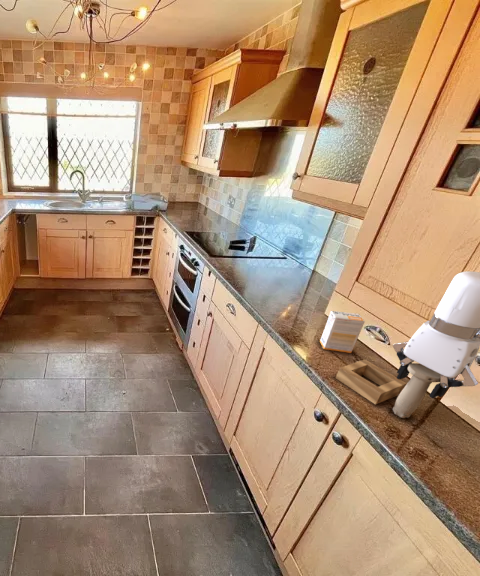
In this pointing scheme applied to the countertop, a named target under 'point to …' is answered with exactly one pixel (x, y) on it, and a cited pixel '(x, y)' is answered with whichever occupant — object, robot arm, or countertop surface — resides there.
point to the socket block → (365, 388)
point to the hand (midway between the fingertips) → (417, 386)
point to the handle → (414, 389)
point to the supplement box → (341, 331)
